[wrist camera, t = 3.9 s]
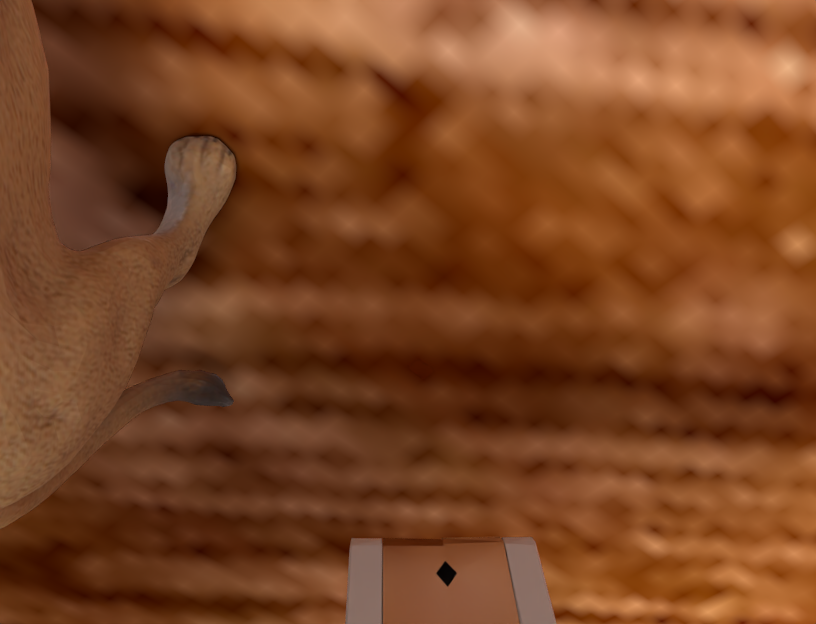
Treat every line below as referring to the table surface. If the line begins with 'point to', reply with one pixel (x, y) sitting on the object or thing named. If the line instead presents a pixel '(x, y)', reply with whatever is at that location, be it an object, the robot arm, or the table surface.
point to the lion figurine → (81, 290)
